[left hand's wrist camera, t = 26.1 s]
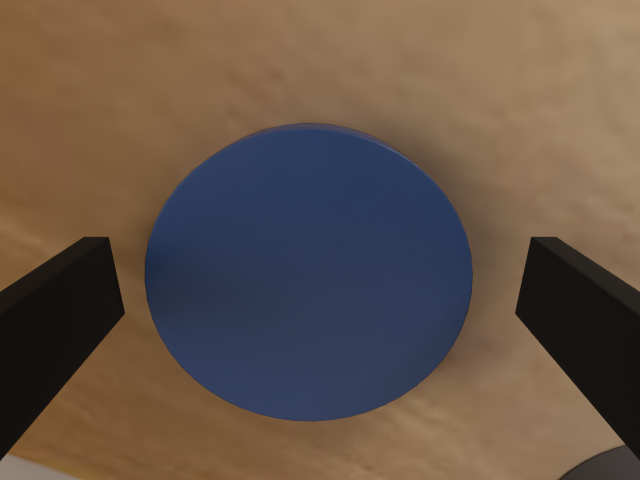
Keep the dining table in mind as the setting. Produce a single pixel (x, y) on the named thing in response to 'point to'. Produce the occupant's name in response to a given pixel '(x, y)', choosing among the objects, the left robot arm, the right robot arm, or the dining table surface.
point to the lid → (308, 273)
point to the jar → (608, 467)
